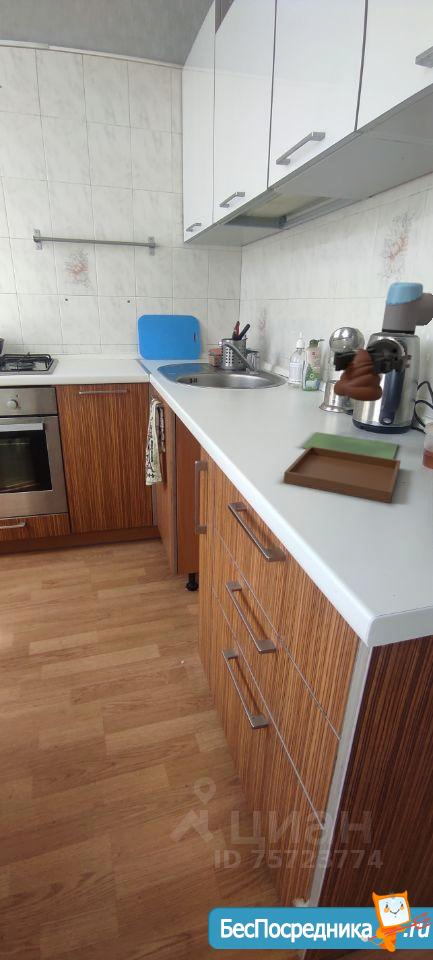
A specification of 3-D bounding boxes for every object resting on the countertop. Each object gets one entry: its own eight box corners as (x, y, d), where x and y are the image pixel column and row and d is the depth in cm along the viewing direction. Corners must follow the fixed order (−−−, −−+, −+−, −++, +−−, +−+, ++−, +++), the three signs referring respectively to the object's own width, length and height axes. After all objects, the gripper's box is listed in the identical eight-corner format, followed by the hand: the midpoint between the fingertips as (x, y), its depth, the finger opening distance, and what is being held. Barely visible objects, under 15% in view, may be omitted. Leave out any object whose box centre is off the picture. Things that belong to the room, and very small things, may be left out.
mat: (397, 445, 102) (397, 444, 102) (391, 462, 91) (392, 461, 91) (316, 433, 109) (316, 432, 109) (302, 447, 98) (302, 446, 98)
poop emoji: (323, 394, 94) (329, 346, 91) (351, 390, 99) (358, 345, 96) (363, 403, 87) (372, 352, 84) (391, 399, 92) (400, 351, 88)
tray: (398, 470, 87) (400, 460, 86) (389, 503, 72) (391, 492, 72) (308, 454, 93) (309, 445, 93) (283, 482, 79) (284, 472, 78)
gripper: (426, 377, 102) (406, 393, 83) (340, 368, 111) (304, 379, 92) (434, 342, 99) (414, 349, 81) (345, 335, 108) (309, 340, 90)
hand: (356, 365), depth 87 cm, fingers closed on poop emoji, 6 cm apart
